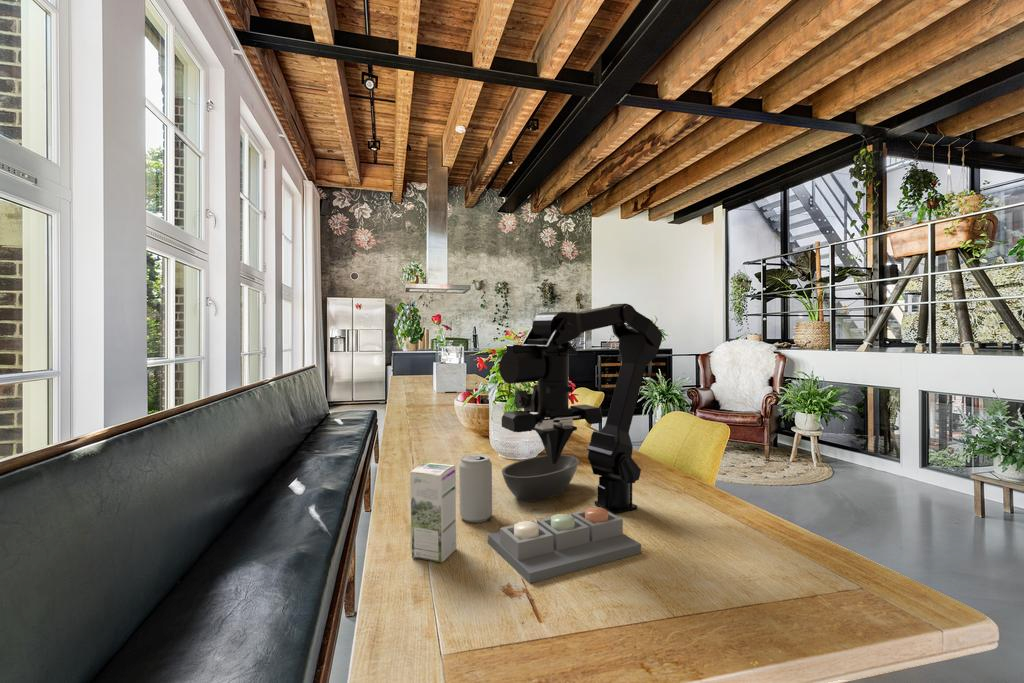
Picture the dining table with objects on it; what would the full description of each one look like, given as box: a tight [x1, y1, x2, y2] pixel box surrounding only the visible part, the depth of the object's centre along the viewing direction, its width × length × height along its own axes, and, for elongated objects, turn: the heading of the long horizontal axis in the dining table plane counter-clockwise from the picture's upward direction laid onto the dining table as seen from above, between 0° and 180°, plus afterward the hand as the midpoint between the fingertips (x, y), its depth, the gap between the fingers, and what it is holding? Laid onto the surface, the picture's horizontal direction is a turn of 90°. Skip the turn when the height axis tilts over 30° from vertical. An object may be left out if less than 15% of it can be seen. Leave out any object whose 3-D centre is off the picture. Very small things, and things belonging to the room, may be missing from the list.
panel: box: [487, 506, 642, 584], centre depth 84 cm, size 21×15×4 cm
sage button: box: [551, 513, 575, 531], centre depth 84 cm, size 4×4×3 cm
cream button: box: [513, 520, 539, 540], centre depth 80 cm, size 4×4×3 cm
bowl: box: [501, 454, 580, 502], centre depth 112 cm, size 12×22×6 cm, turn 135°
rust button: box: [585, 506, 609, 524], centre depth 87 cm, size 4×4×3 cm
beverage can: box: [458, 453, 493, 523], centre depth 97 cm, size 6×6×12 cm
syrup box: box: [409, 462, 457, 563], centre depth 82 cm, size 6×6×14 cm
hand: (553, 463), depth 92 cm, fingers closed
